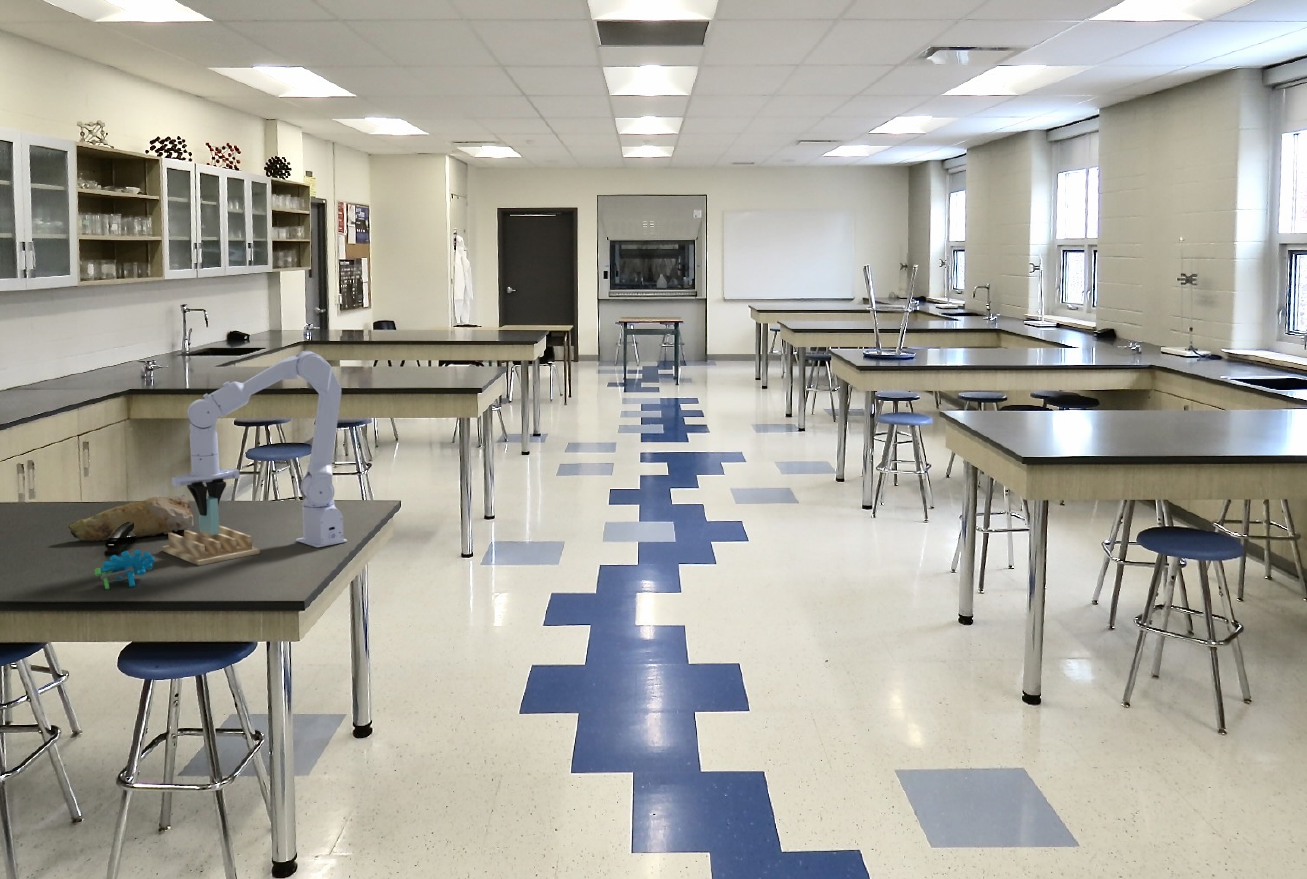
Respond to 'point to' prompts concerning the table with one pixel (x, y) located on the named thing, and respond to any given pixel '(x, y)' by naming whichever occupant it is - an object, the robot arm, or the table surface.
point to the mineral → (137, 519)
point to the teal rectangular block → (210, 517)
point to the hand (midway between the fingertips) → (208, 514)
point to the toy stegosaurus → (125, 567)
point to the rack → (210, 546)
